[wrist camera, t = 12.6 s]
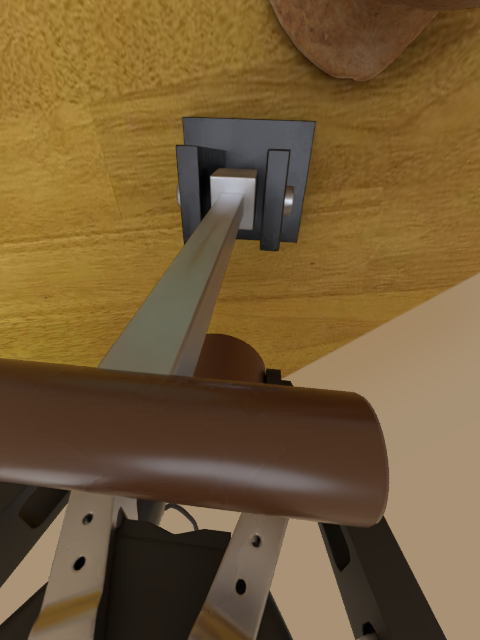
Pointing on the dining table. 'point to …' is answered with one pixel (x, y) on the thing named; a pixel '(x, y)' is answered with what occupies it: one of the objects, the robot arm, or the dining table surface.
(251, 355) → the brown lidded jar
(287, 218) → the black angular piece
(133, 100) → the dining table surface
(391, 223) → the dining table surface
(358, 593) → the robot arm
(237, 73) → the dining table surface
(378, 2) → the stone cup
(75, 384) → the metal lever handle
